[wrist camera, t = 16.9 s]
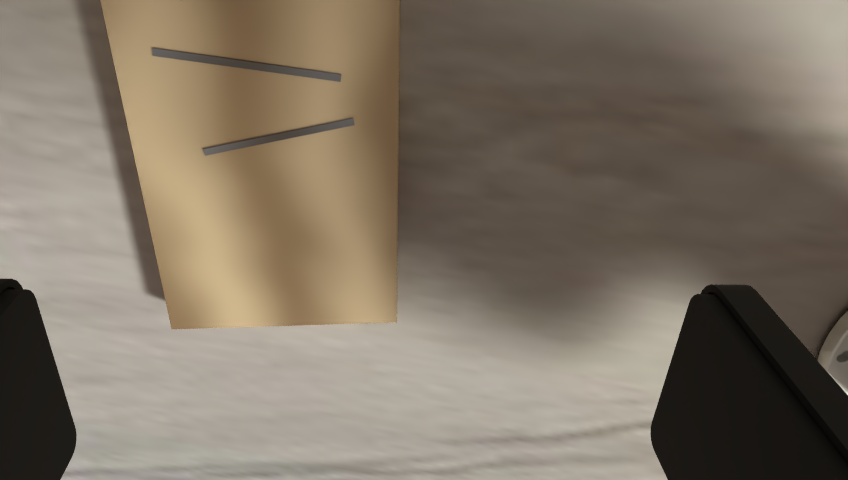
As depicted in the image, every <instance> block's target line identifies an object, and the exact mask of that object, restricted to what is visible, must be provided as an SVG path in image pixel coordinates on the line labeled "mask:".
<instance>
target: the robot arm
mask: <svg viewBox="0 0 848 480" xmlns="http://www.w3.org/2000/svg"><path fill="white" fill-rule="evenodd" d="M651 441H652V445H653V448H654V451H655V453H656V455H657V457H658V459H659V462H660V464H661V466H662V468H663V470H664V472H665V474H666V477H667V479H668V480H848V311H847V312H846V313H845V314H844V315H843V316H842V317H841V318H840V319H839V320H838V322H837V323H836V324H835V326H834V327H833V329H832V330H831V331H830V333H829V334H828V336H827V338H826V340H825V342H824V344H823V346H822V348H821V350H820V353H819V357H818V360H816V359H815V357H814V356H813V355H812V354H811V353H810V352H809V351H808V349H807V348H806V347H805V346H804V345H803V344H802V343H801V341H800V340H799V339H798V338H797V337H796V336H795V335H794V334H793V332H792V331H791V330H790V329H789V328H788V327H787V326H786V324H785V323H784V322H783V321H782V320H781V319H780V318H779V316H778V315H777V314H776V313H775V312H774V311H773V310H772V308H771V307H770V306H769V305H768V304H767V303H766V302H765V300H764V299H763V298H762V297H761V296H760V295H759V294H758V292H757V291H756V290H755V289H753V288H752V287H751V286H748V285H708V286H706V287H705V288H704V289H703V290H702V293H701V294H697V295H694V296H693V297H692V298H691V300H690V303H689V306H688V309H687V312H686V315H685V318H684V322H683V325H682V328H681V331H680V334H679V338H678V341H677V344H676V347H675V350H674V354H673V357H672V360H671V363H670V366H669V370H668V373H667V376H666V379H665V382H664V386H663V389H662V392H661V395H660V398H659V402H658V405H657V408H656V411H655V414H654V418H653V421H652V425H651ZM75 446H76V429H75V425H74V422H73V419H72V415H71V412H70V409H69V406H68V402H67V399H66V396H65V393H64V389H63V386H62V383H61V379H60V376H59V373H58V370H57V366H56V363H55V360H54V356H53V353H52V350H51V347H50V343H49V340H48V337H47V333H46V330H45V327H44V324H43V320H42V317H41V314H40V310H39V307H38V304H37V301H36V298H35V296H34V294H33V293H32V292H31V291H30V290H26V289H23V288H22V286H21V285H20V284H19V283H18V281H16V280H13V279H0V480H60V479H61V477H62V475H63V473H64V471H65V470H66V468H67V466H68V464H69V462H70V460H71V458H72V455H73V453H74V450H75Z"/></svg>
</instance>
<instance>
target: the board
mask: <svg viewBox="0 0 848 480" xmlns="http://www.w3.org/2000/svg"><path fill="white" fill-rule="evenodd" d="M100 2H101V6H102V11H103V15H104V20H105V25H106V29H107V34H108V38H109V43H110V48H111V52H112V57H113V61H114V66H115V71H116V75H117V80H118V84H119V89H120V94H121V98H122V103H123V107H124V112H125V117H126V121H127V126H128V130H129V135H130V140H131V144H132V149H133V153H134V158H135V163H136V167H137V172H138V176H139V181H140V186H141V190H142V195H143V199H144V204H145V209H146V213H147V218H148V222H149V227H150V232H151V236H152V241H153V245H154V250H155V255H156V259H157V264H158V268H159V273H160V278H161V282H162V287H163V291H164V296H165V301H166V305H167V310H168V314H169V319H170V324H171V328H172V329H195V328H227V327H259V326H292V325H324V324H356V323H389V322H397V242H398V141H399V40H400V0H100Z"/></svg>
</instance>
